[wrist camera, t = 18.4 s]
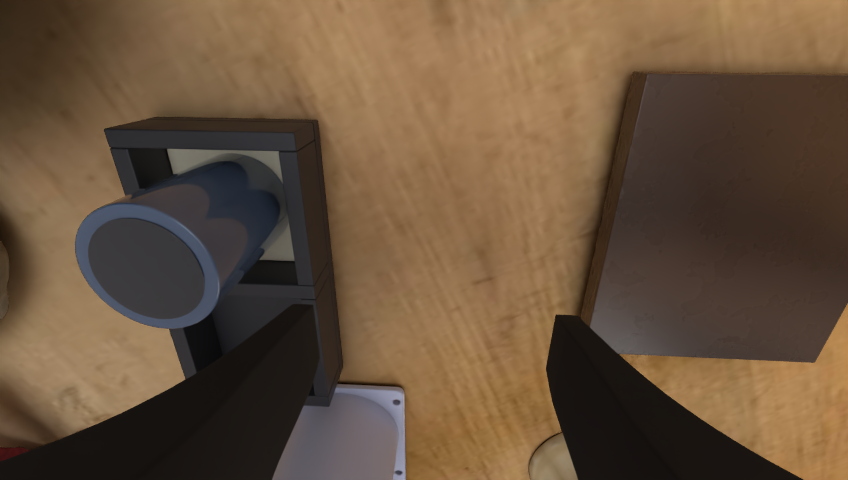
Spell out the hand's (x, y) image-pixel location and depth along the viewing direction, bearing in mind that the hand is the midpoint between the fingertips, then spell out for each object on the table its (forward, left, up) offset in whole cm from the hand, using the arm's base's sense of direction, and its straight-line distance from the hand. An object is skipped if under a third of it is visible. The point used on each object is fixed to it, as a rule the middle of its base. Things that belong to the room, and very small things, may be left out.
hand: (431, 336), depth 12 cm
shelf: (0, -14, -10) cm, 17 cm away
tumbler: (+1, +10, -9) cm, 13 cm away
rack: (-3, +10, -10) cm, 14 cm away
